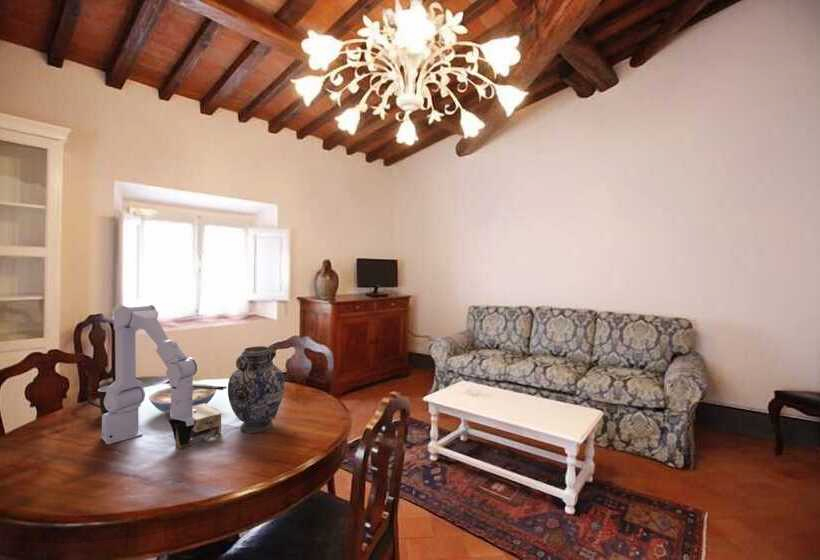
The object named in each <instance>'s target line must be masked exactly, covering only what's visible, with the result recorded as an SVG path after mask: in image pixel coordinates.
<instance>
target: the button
mask: <svg viewBox="0 0 820 560" xmlns="http://www.w3.org/2000/svg"><path fill="white" fill-rule="evenodd" d="M219 435H220V434H217V433H216V434H209V435H207V436H205V439H204V442H206V443H210V442H212V443H213V442H215V441H217V440H219V438H220V436H219Z"/></svg>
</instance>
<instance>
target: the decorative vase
mask: <svg viewBox="0 0 820 560" xmlns="http://www.w3.org/2000/svg"><path fill="white" fill-rule="evenodd" d="M276 351H277V349H276V347H275V345H274V344H269V345H268V346H262V345H261V346H260V345H259V346H250V347H246V348H244V351H242V352H241V355H240V356H238V357H237V358H236V362H235V366H236V368H237V369H236V370H235V371H233V372H232V374H231V375H230V377H229V380H228V383H227V396H228V402H229V404H230V408H231V409H232V412H233V414H234V415H235V416H236V417H237V419H238V420H240V421H241V422H243V423H242V424H241V425H240V428H239V429H240V431H241V432H243V433H248V434H254V433H255V434H256V433H261V432H265V431H268V430H269V429H270V428H272V426H273V421H272V420H275V419H276V416H277V413H278V411H279V407H280V406H281V403H282V399H283V397H284V392H285V377H284V374H283V372H282V371H281V369H280V368H278V367H277V366H276V365H275V364H274V362H273V359H275V357H276V354H277V352H276Z"/></svg>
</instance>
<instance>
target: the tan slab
mask: <svg viewBox="0 0 820 560" xmlns="http://www.w3.org/2000/svg"><path fill="white" fill-rule="evenodd" d="M192 409H196V410H197V412H196V413H193V418H194V420H195V421H196V424H195V425H194V427H193V429H192V431H193V432H194V433H198V432H201V431H205V430H208V429H210V430H212V429H216V434H218V435H221V434H222V412H220V411H218V410H217V409H215V408H213V407H212V406H210V405H208V403H207V404H205V403H204V404H199V405H195V406H192Z"/></svg>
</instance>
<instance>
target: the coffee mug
mask: <svg viewBox="0 0 820 560" xmlns="http://www.w3.org/2000/svg"><path fill="white" fill-rule="evenodd" d="M109 386H110V385H106V386H102V387H100V388H98V389H97V392H90V393H88V394H87V395H86V401H87V402H88V403H89V404H90V405H92V406H94V407H96V408H99V409H100V413H101V416H102V415H103V414H105V413H108V412H109V411H108V410H107V409H106V408H105V406H104V398H105V396H106V389H107V388H108V387H109ZM92 395H96V396H97V397H98V399H99V404H95V403H94V402H92V401H91V400H90V399H89V397H90V396H92Z"/></svg>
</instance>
